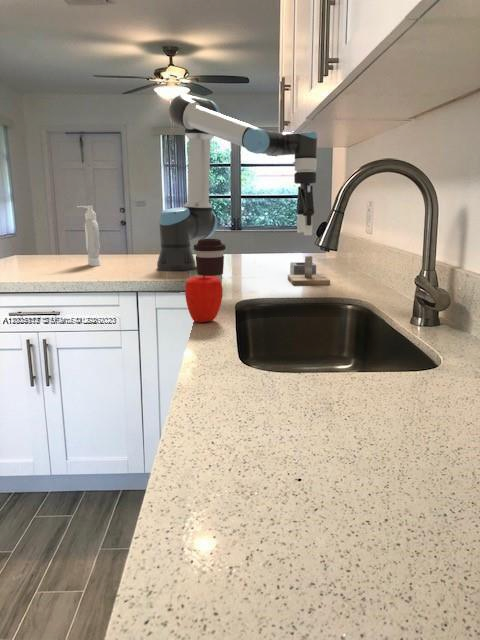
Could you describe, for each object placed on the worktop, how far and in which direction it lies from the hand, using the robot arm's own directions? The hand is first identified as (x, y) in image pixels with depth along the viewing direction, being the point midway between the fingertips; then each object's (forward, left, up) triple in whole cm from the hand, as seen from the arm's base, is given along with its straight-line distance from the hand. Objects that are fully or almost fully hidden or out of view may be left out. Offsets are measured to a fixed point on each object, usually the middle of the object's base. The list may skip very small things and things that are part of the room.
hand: (304, 233), depth 180 cm
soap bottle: (-36, -84, -15) cm, 92 cm away
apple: (+65, -36, -15) cm, 76 cm away
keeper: (+15, -1, -15) cm, 21 cm away
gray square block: (0, 0, -15) cm, 15 cm away
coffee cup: (+21, -34, -15) cm, 42 cm away
